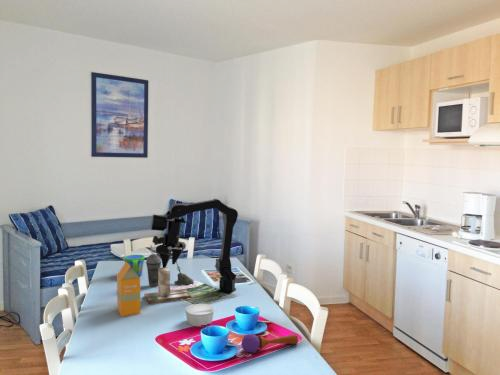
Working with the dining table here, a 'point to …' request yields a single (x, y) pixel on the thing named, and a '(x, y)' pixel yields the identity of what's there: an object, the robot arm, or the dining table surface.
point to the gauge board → (174, 296)
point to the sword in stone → (183, 279)
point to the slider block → (164, 281)
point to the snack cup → (135, 263)
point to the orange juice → (128, 291)
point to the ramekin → (199, 314)
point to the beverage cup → (153, 269)
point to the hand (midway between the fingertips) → (168, 265)
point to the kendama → (265, 341)
